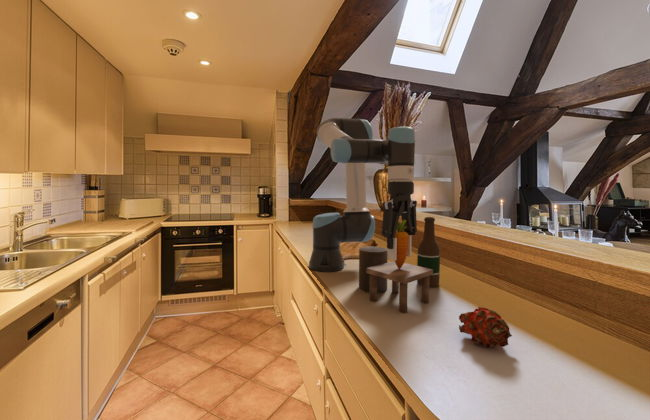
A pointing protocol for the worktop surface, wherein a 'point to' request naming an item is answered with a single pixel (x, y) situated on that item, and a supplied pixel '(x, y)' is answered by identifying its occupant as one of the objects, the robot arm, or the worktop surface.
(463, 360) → the worktop surface
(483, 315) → the dragon fruit
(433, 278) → the beer bottle
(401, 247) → the carrot
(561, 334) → the worktop surface
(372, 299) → the walnut stool
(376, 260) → the pillar candle
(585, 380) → the worktop surface
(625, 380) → the worktop surface
